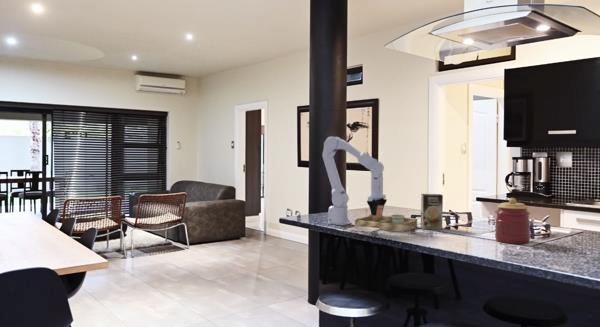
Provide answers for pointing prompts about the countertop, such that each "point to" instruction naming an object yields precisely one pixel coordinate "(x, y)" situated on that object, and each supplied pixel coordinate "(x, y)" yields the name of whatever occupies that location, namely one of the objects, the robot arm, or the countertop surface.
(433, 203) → the coffee box
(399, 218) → the sage pot
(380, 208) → the terracotta pot
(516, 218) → the canister
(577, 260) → the countertop surface
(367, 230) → the ceramic tile
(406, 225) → the compartment tray
